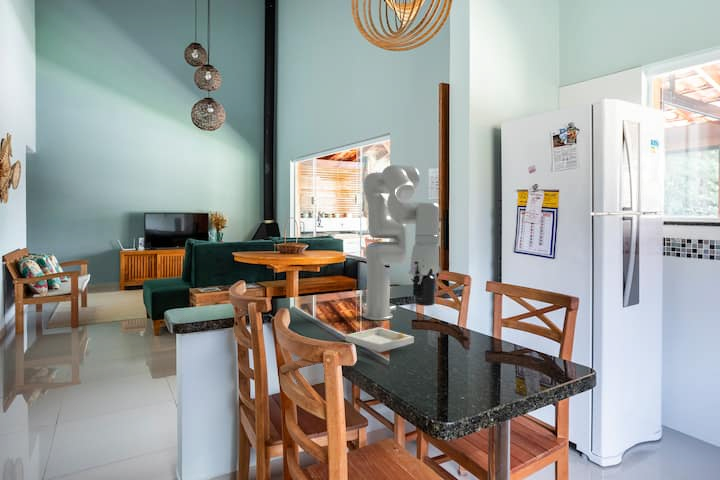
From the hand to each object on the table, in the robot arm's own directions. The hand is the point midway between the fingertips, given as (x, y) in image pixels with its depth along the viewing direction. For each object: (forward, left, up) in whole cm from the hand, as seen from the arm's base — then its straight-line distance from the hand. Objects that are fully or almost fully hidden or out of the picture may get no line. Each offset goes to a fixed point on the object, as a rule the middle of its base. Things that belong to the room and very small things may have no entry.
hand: (424, 294), depth 149 cm
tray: (+10, -10, -17) cm, 23 cm away
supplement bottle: (0, 0, -4) cm, 4 cm away
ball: (+5, -5, -16) cm, 18 cm away
